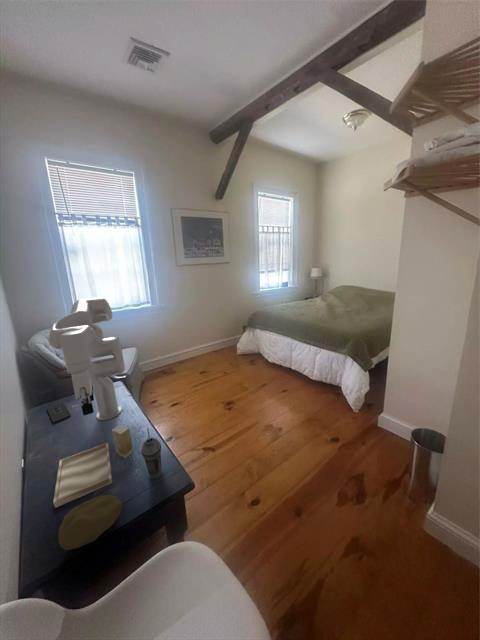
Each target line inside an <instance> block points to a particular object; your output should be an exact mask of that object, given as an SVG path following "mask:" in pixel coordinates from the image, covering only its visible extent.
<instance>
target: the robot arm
mask: <svg viewBox="0 0 480 640" xmlns="http://www.w3.org/2000/svg"><path fill="white" fill-rule="evenodd" d="M112 319H113V311H112V308H111V306H110V304H109V302H108V301H107V300H106V298H103V297H99V296H97V297H90V298H82V299H78V300H76V301H74V303H73V304H72V307H71V310H70V313H69V314H67V315H65V316H64V317H62V318H60V319H58V320H57V321H55V322H54V323H53V325H52V326H51V329H50V332H49V336H48V338H49V344H50V346H51V347H52V348H53V349H55V350H61V351H62V354H63V357H64V362H65V366H66V370H67V373H68V374H71V381H72V387H73V392H74V395H75V400H77V401H78V400H80V406H81V407H80V408H81V411H82V415H83V416H87V415H88V416H89V415H92V414H93V413H95V411H94V407H93V401H94V400H95V402H96V407H97V411H98V412H97V413H95V414H96V419H97V420H98V421H107V420H111V419H113V418H116V417H117V416H119V415H120V414H121V412H122V410H123V409H122V406H121V405H118V400H117V396H116V390H115V385H114V382H113V380H112V379H111V378H110V377H111V376H112V377H113V376H115V375H121V374H123V373H124V372H125V370H126V369H125V368H126V367H125V359H124V354H123V349H122V345H121V341H120V340H119V337H116V336H110V337H104V333H103V328H102V327H101V326H99V325H98V324H99V323H106V322H110V321H111V320H112ZM109 356H112V357H109ZM102 357H109V358H102ZM97 358H98V359H97ZM99 358H102V359H99ZM91 359H97V360H94V361H92V360H91ZM94 397H95V398H94Z"/></svg>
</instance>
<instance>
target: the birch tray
mask: <svg viewBox="0 0 480 640" xmlns="http://www.w3.org/2000/svg"><path fill="white" fill-rule="evenodd" d="M110 455H111V454H110V446H109V442H105V443H103V444H100V445H97V446H94V447H91V448H89V449H86V450H84V451H81V452H78V453H76V454H73V455H70V456H67V457H64V458H61V459H59V464H58V469H57V476H56V483H55V488H54V489H55V490H54V496H53V502H52V503H53V505H54V508H58V507H60V506H63V505H65V504H67V503H69V502H72V501H74V500H76V499H78V498H81V497H83V496H86V495H88V494H90V493H92V492H94V491H97V490H99V489H102V488H103V487H106V486H108V485H110V484H113V474H112V465H111V457H110Z"/></svg>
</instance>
